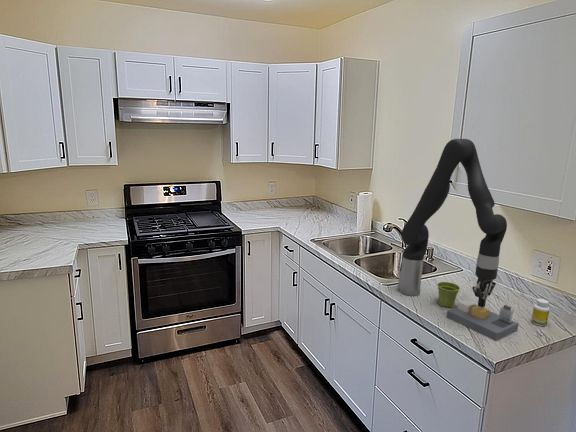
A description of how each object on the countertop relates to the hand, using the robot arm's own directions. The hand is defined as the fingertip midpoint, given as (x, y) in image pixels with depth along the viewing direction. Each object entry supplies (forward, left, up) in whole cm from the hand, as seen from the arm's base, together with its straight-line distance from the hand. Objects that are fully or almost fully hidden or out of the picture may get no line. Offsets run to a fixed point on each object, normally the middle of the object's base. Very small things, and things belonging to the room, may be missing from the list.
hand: (481, 306), depth 156 cm
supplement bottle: (+13, +21, -7) cm, 26 cm away
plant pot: (-17, +3, -7) cm, 19 cm away
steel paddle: (+8, +4, -4) cm, 10 cm away
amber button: (0, 0, -5) cm, 5 cm away
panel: (+1, 0, -7) cm, 7 cm away
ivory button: (-6, 0, -5) cm, 8 cm away
